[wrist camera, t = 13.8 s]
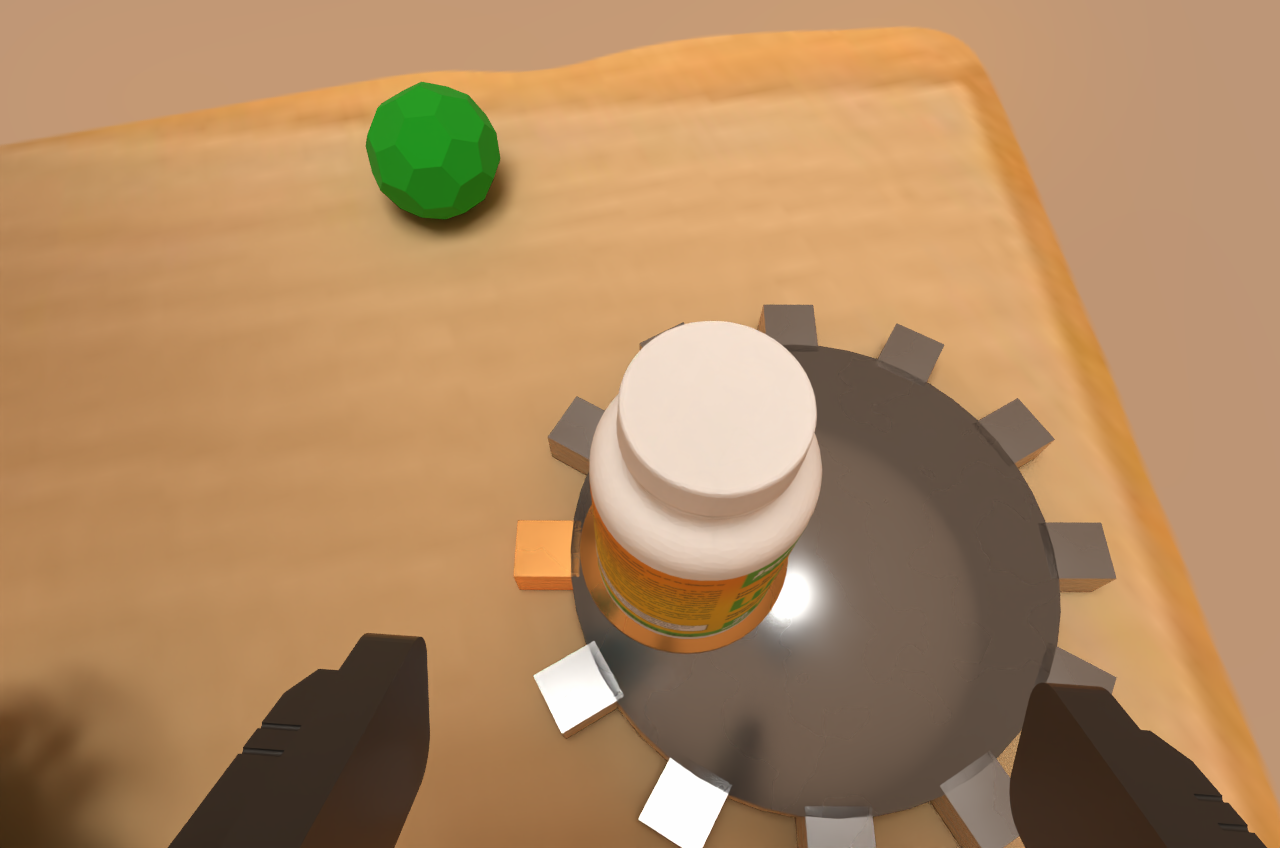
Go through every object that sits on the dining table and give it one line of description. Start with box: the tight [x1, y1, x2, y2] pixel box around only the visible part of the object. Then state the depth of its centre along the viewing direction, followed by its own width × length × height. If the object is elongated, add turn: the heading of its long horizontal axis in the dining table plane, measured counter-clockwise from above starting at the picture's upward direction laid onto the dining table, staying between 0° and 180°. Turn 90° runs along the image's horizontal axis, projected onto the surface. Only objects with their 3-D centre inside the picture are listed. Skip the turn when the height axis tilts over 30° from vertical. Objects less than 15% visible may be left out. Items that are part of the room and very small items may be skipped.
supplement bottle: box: [589, 321, 822, 639], centre depth 20 cm, size 5×5×10 cm
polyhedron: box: [366, 82, 500, 219], centre depth 31 cm, size 5×5×5 cm
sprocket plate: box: [514, 305, 1116, 848], centre depth 25 cm, size 18×18×2 cm
